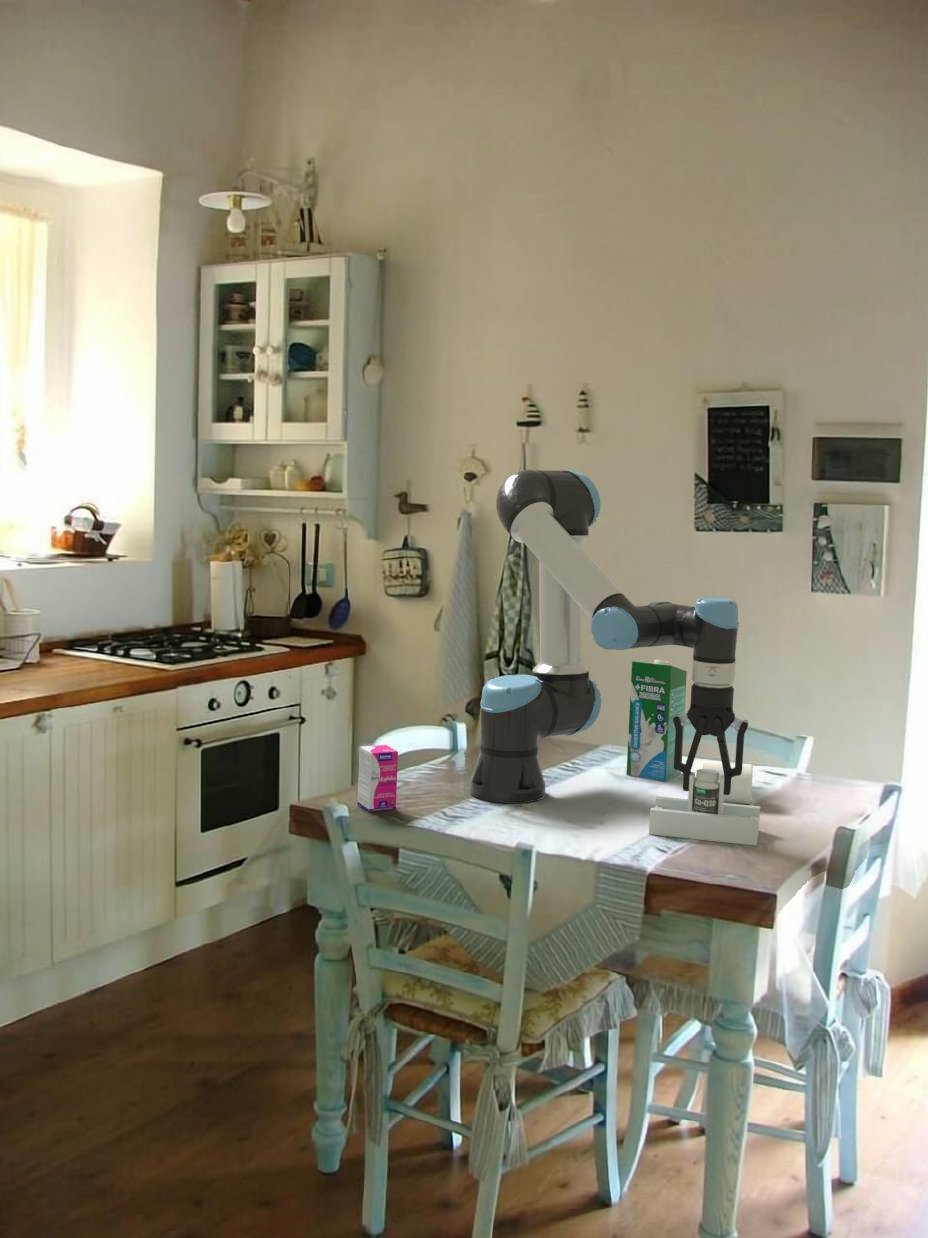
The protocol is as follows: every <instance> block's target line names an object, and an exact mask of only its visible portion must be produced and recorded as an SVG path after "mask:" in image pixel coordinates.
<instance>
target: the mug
mask: <svg viewBox="0 0 928 1238" xmlns="http://www.w3.org/2000/svg"><path fill="white" fill-rule="evenodd" d="M730 765H731V769H732V768H735V762H730ZM700 766H701V767H700V769H711V770H716V771H718V772H719V780H718V782H719V783H720V777H721V775H724V771H723V766H722V761H715V760H714V761H712V760H701V763H700ZM753 771H754V770H753V765H752V764H751V763H743V765H742V773H741V775H740V776H734V777H732V778H731V791H730V794H729V795H724V803H730V804H740V805H751V803H752V802H751V801H752V794H753V793H752V791H753V773H754V772H753Z"/></svg>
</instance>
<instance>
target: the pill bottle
mask: <svg viewBox="0 0 928 1238" xmlns="http://www.w3.org/2000/svg"><path fill="white" fill-rule="evenodd" d="M695 779H696V780H695V782H694V789H693V805H692V812H698V813H708V814H718V804H719V787H720V783H719V782H718V780H719V772H718V771H716V770H711V769H701V768H700V769H697V770H696V773H695Z"/></svg>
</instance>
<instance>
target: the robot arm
mask: <svg viewBox="0 0 928 1238" xmlns="http://www.w3.org/2000/svg"><path fill="white" fill-rule="evenodd" d="M600 497H601V496H600V494H599V491H598V489H597V486H596V484H595V483H594V482H593V481H592V480H591V478H590V477H589V476H587V475H586V474H584V473H581V472H579V471H570V470H542V469H541V470H538V469H537V470H535V469H524V470H519V471H516V472H514V473H512V474H511V475H510V476H508V477H507V478H506V479H505V480H504V481H503V482H502V484H501V486H500V487H499V489H498V491H497V495H496V498H495V499H496V502H495V506H496V513H497V517H498V519H499V521H500V523H501V525H502V526H503V528H504V529H505V531H506V532H507V533H508V534H509V535H510V537H512V539H513V541H516V542H518V543H520V544H521V543H524V545H525V546H526V547H527V548H528V549H529V550H530V551H531V553H532V554H533V555H534V556H535V557H536V558H537V559H538V564H539V567H538V569H539V575H538V576H539V577H538V579H539V581H538V583H539V584H538V585H539V587H538V589H539V593H538V595H539V597H538V598H539V662H538V664H537V665H536V666H535V667H534V668H533V669H532V675H529V674H513V675H511V674H509V675H508V674H506V675H501V676H498V677H494V678H492V679H489V680H488V681H487V682H485V684H484V685H483V688H482V691H481V692H482V693H481V699H480V738H479V757H478V759H477V761H476V764H475V767H474V770H473V773H472V775H471V778H470V780H469V781H470V783H469V794H470V795H472V796H473V797H475V798H478V799H480V800H483V801H484V800H485V801H488V802H494V803H506V804H508V803H509V804H517V803H519V804H520V803H523V804H524V803H530V802H536V801H539V800H541V799H543V798H544V797H545V796H546V781H545V777H544V775H543V770H542V768H541V763H540V759H539V740H540V739H545V738H550V737H551V738H553V737H558V736H572V735H575V734H578V733H581V732H582V733H583V732H585V731H587V730H589V728H591V726H592V725H594V724H595V723H596V721H597V719H598V717H599V714H600V710H601V707H602V697H601V691H600V688H597V684H596V682H595V681H594V680H593V679H592V678H590V669H589V668H588V666H586V665H585V664H584V663H583V661H582V657H583V656H582V649H583V648H582V611H583V612H584V613H585V614H586V616H587V617H588V618H589V619H590V621H591V622H590V623H591V624H590V633H591V634H592V636H593V641H594V642H595V643H596V645H597V646H599V648H602V649H604V650H609V651H611V650H613V651H614V650H615V651H616V650H617V651H625V650H629V649H638V648H647V647H648V648H650V647H661V646H679V647H687V648H691V649H693V650H692V651H693V652H692V670H691V680H692V682H694V683H693V684H692V685H691V686H690V688H691V689H690V704H689V709H688V711H687V712H686V713H684V714H681V715H679V714H676V715H675V716H674V718H673V722H674V726H675V729H676V733H675V752H674V769H675V770H679V771H681V774H683V775H682V776H683V777H682V779H683V780H682V790H683V792H688V795H687V796H688V798H687V799H688V810H690V811H692V805H693V789H694V782H695V781H696V780H695V779H696V772H694V771H692V768H693V765H694V761H695V759H696V755H697V754H698V753H697V752H698V749H699V746H700V742H701V739H702V736H709V735H710V736H712V737H716V740H717V744H718V750H719V755H720V760H721V761H720V762H722V766H723V771H724V775H721V777H720V787H719V804H718V813H719V814H722V813H723V804H724V803H725V802H724V795H729V794H730V791H731V778H732V777H734V776H740V775H741V773H742V765H743V764H744V762H743V761H744V745H745V734H746V732H747V729H748V726H749V720H747V719H741V718H739V717H736V715H735V711H734V708H733V707H734V691H735V688H734V687H733V686H732V685H734V683H735V674H736V650H737V640H738V631H739V630H738V629H739V626H740V625H739V624H740V623H739V605H738V603H737V602H736V600H734V599H730V598H724V597H723V598H721V597H710V596H709V597H700V598H698V599H697V600H696V603H695V606H689V605H685V604H677V603H673V602H670V601H664V602H663V601H653V602H650V603H649V604H647V605H636V604H635V605H634V603H632V601H631V600H630V599H629V598H628V597H626V595H625V594H624V592H622V591H621V589H619V587H618V586H617V585H616V584H615V583H614V582H613V581H612V580H611V579H610V577H608V575H607V574H606V573H605V572H604V571H603V570H602V568H600V566H599V565H598V564H597V563H596V562H595V561H594V560H593V558H591V557H590V556H589V555H588V553H587V552H586V551H585V550H584V549H583V548H582V545H583V544H584V543H585V541H587V540H588V538H589V528H590V527H591V526H593V524H595V523H596V521H597V518H598V517H599V515H600V511H601V498H600ZM687 721H689V723H690V724H691V725H692V727H693V728H694V730H695V733H694V735H693V739H692V742H691V745H690V748H689V752H688V755H687V758H686V761H685V763H683V750H684V749H683V747H684V745H683V744H684V728H685V726H686V725H687ZM732 724H734V730H735V731H736V732H737V734H736V746H735V758H734V759H735V760H734V761H735V762H734V763H735V768H732V769H731V765H730V763H731V761H730V756H729V749H728V746H727V745H728V744H727V739H726V731H727V730H728V729H729V727H730V726H731V725H732ZM683 726H684V728H683Z"/></svg>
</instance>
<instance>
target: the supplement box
mask: <svg viewBox="0 0 928 1238" xmlns="http://www.w3.org/2000/svg"><path fill="white" fill-rule="evenodd" d="M358 756H359V758H358V781H357V782H358V783H357V805H358V806H359V807H361V808H362V809H363V810H364V811H367V812H368V813H369V812H370V813H371V812H375V811H376V812H377V811H389V810H396V808H397V791H398V789H397V786H398V767H399V766H398V763H399V762H398V761H399V751H398V750H397V749H394V748H393V747H390V746H389V745H388V744H380V745H379V744H378V745H366V746H365V745H362V746H359V755H358Z"/></svg>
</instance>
